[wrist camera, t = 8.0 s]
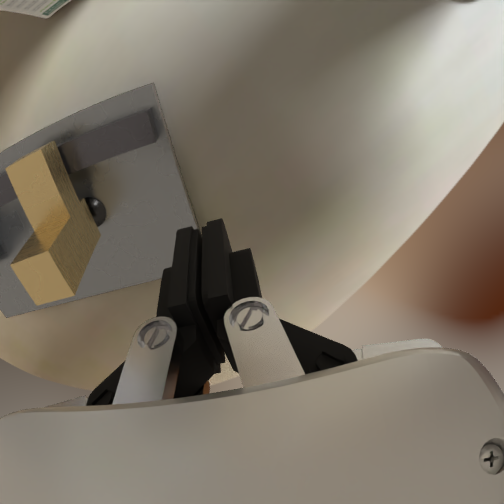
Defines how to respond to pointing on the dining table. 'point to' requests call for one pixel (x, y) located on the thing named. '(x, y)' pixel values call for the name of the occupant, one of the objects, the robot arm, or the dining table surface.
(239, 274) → the robot arm
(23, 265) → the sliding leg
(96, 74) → the dining table surface
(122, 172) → the hole plate
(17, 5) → the syrup box
